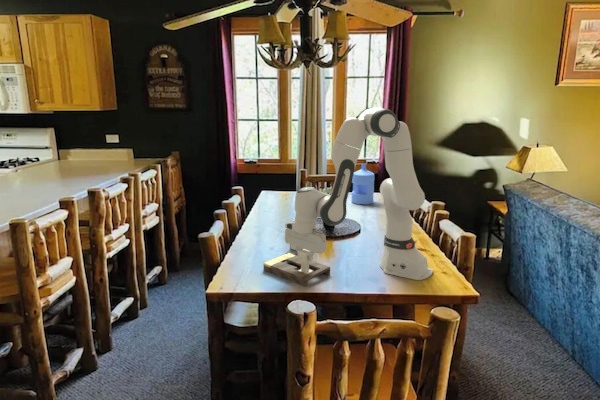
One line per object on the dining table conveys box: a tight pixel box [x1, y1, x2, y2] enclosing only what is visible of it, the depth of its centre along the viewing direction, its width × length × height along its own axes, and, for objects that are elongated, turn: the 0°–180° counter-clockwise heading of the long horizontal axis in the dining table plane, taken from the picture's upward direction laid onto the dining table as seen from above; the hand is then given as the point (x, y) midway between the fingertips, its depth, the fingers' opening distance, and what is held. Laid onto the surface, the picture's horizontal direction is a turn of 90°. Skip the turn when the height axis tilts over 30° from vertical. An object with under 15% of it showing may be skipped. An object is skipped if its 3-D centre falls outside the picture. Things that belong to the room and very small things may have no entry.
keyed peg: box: [297, 249, 314, 274], centre depth 175 cm, size 5×5×11 cm
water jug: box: [350, 162, 375, 206], centre depth 296 cm, size 16×16×28 cm
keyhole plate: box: [262, 252, 331, 287], centre depth 179 cm, size 24×16×3 cm, turn 48°
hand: (305, 258), depth 174 cm, fingers closed on keyed peg, 4 cm apart
